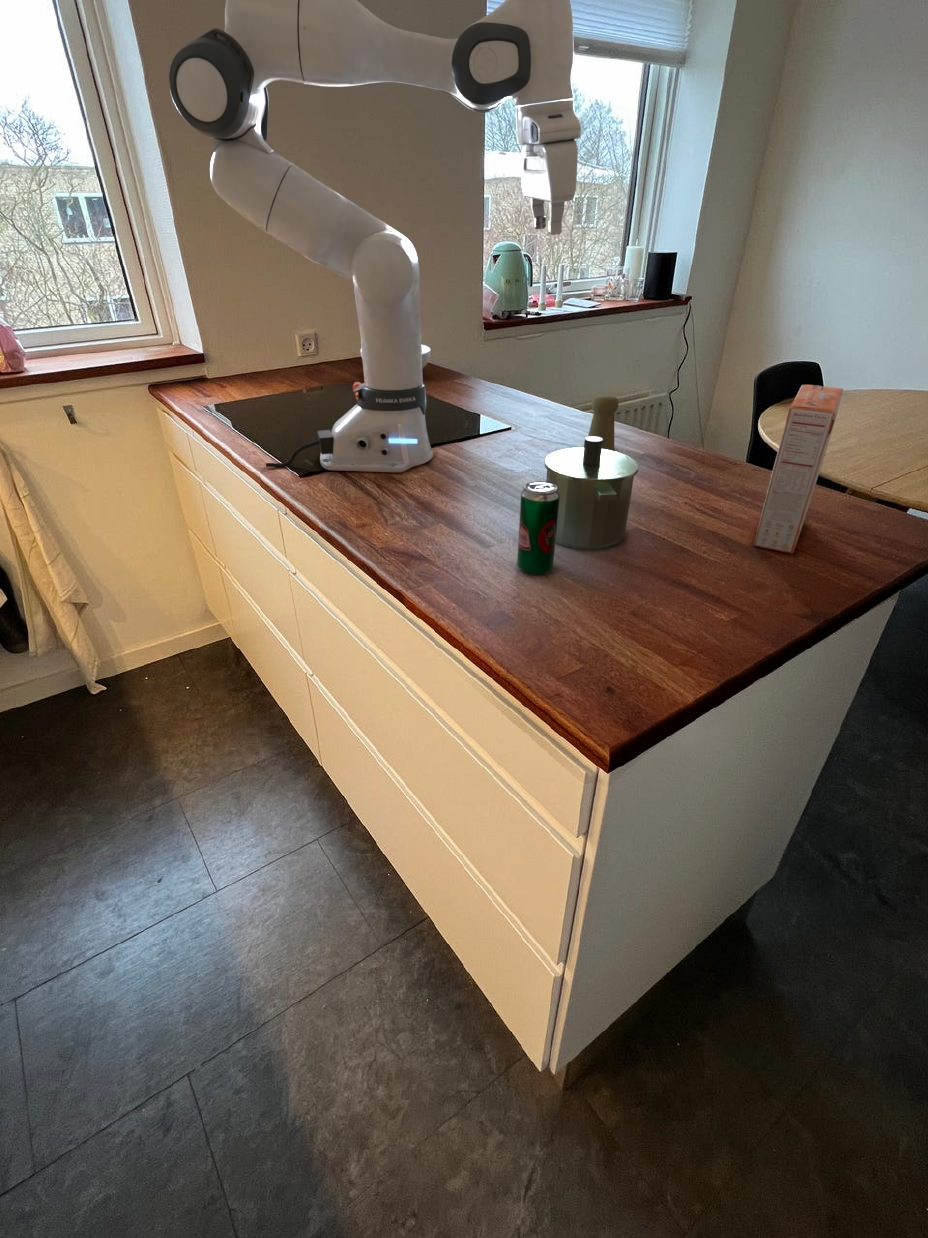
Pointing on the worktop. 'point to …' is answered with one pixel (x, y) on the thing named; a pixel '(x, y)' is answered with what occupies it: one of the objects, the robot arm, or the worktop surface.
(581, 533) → the pot
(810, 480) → the cracker box
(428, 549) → the worktop surface
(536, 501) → the soda can
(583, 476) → the lid
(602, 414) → the beige pestle
